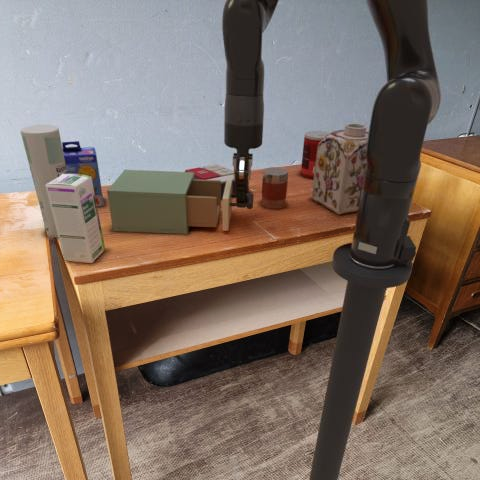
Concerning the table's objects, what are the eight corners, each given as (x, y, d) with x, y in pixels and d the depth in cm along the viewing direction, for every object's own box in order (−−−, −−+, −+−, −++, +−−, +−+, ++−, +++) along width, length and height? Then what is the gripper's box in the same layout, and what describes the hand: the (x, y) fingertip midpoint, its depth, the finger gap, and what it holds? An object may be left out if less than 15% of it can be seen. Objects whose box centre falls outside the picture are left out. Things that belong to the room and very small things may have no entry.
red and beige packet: (217, 162, 121) (249, 174, 110) (217, 178, 123) (249, 192, 113) (181, 169, 116) (212, 182, 105) (183, 185, 118) (213, 200, 108)
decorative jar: (347, 192, 115) (360, 117, 104) (377, 208, 106) (394, 128, 96) (309, 199, 110) (318, 121, 100) (337, 215, 102) (350, 133, 91)
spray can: (73, 238, 89) (50, 133, 77) (41, 237, 89) (13, 132, 77) (83, 225, 94) (63, 125, 83) (52, 224, 94) (28, 124, 83)
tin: (285, 200, 109) (288, 167, 104) (286, 209, 104) (289, 175, 100) (261, 199, 109) (263, 166, 105) (261, 208, 104) (262, 174, 100)
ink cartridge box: (60, 210, 100) (45, 144, 92) (60, 202, 105) (45, 137, 96) (104, 206, 103) (94, 141, 95) (103, 198, 107) (93, 135, 99)
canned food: (333, 175, 126) (339, 134, 120) (317, 181, 121) (322, 139, 115) (311, 168, 130) (316, 129, 124) (295, 174, 126) (299, 133, 119)
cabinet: (195, 209, 103) (194, 172, 98) (187, 234, 92) (185, 193, 87) (129, 206, 103) (124, 169, 98) (113, 231, 92) (106, 190, 87)
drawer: (253, 209, 102) (254, 179, 98) (251, 231, 92) (253, 199, 88) (169, 205, 102) (167, 176, 98) (158, 227, 92) (156, 195, 88)
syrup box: (92, 264, 81) (77, 185, 72) (62, 260, 81) (44, 182, 73) (105, 250, 85) (92, 174, 77) (77, 247, 86) (61, 172, 78)
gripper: (263, 128, 79) (258, 219, 89) (263, 113, 90) (259, 196, 100) (221, 126, 79) (221, 217, 90) (226, 111, 90) (226, 194, 100)
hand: (241, 206), depth 95 cm, fingers closed
